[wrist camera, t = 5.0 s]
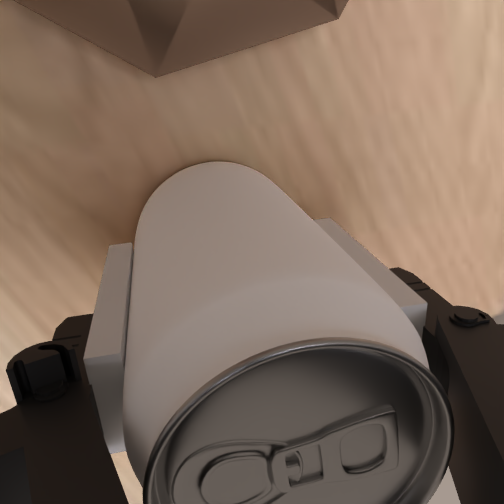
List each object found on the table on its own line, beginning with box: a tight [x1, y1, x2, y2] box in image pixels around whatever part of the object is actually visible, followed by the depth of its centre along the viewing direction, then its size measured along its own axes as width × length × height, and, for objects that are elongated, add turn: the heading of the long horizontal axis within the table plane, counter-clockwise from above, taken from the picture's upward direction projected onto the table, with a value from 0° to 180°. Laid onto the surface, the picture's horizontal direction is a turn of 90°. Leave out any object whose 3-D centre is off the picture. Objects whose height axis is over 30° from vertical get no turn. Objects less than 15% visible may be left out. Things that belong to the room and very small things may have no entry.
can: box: [122, 162, 455, 504], centre depth 13 cm, size 6×6×12 cm
